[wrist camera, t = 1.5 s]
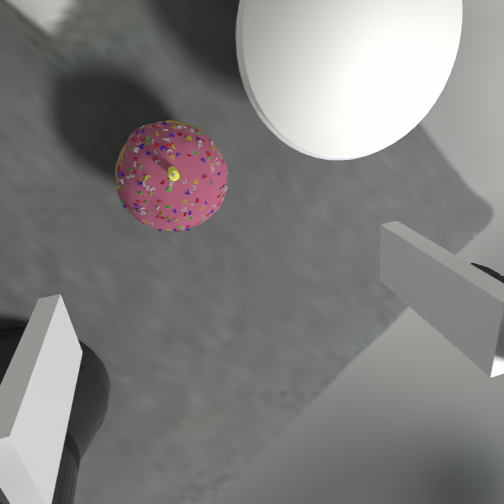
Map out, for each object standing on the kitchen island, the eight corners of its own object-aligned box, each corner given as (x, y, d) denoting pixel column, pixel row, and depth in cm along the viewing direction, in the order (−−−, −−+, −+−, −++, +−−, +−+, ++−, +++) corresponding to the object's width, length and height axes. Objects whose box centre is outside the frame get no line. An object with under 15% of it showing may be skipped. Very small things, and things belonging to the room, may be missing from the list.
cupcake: (106, 123, 33) (87, 149, 22) (209, 106, 34) (238, 124, 23) (133, 221, 36) (128, 284, 26) (225, 203, 38) (256, 256, 27)
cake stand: (234, 159, 36) (253, 178, 30) (205, -71, 29) (222, -110, 23) (402, 131, 39) (452, 144, 33) (414, -85, 32) (481, -123, 25)
